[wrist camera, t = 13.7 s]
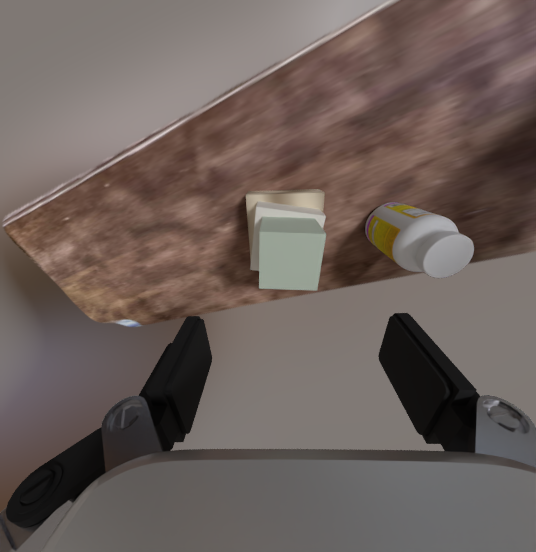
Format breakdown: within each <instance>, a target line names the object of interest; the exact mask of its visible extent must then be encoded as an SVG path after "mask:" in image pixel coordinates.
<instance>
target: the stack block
mask: <svg viewBox="0 0 536 552" xmlns="http://www.w3.org/2000/svg"><path fill="white" fill-rule="evenodd" d="M325 239H326V233H325V231H324V230H323V229H322V227H321V226H320V225H319V223H318V222H317V220H316V219H315V218H294V217H265V216H263V217H262V222H261V227H260V248H259V288H261V289H289V290H316V291H317V288H318V282H319V276H320V270H321V264H322V257H323V251H324V245H325Z"/></svg>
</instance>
